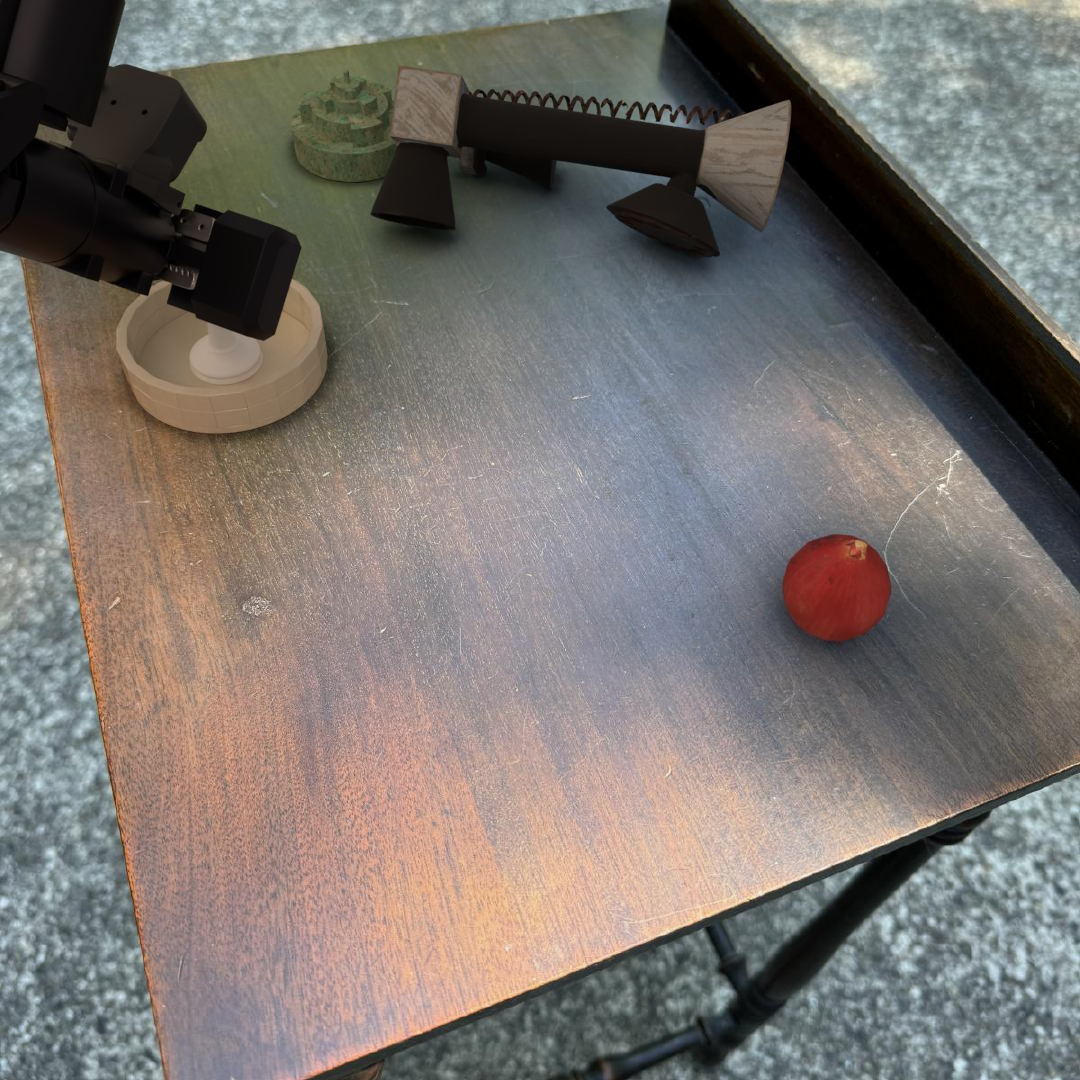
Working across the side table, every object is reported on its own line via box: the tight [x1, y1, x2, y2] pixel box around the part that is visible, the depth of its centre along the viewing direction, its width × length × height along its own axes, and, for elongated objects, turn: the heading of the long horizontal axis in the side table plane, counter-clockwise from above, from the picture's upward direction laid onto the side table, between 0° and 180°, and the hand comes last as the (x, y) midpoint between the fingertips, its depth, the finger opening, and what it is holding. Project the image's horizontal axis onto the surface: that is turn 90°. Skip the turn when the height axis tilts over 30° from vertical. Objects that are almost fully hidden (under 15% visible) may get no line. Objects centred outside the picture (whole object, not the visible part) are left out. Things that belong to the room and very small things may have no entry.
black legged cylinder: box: [370, 65, 792, 258], centre depth 80 cm, size 15×13×30 cm
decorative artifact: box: [290, 69, 397, 183], centre depth 86 cm, size 10×7×10 cm
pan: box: [115, 278, 328, 435], centre depth 70 cm, size 13×13×4 cm
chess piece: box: [189, 322, 263, 385], centre depth 66 cm, size 5×5×10 cm
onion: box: [781, 533, 892, 643], centre depth 57 cm, size 6×6×8 cm
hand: (221, 269), depth 66 cm, fingers closed
